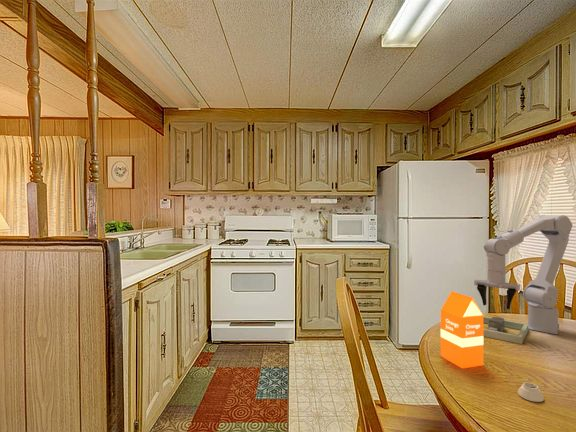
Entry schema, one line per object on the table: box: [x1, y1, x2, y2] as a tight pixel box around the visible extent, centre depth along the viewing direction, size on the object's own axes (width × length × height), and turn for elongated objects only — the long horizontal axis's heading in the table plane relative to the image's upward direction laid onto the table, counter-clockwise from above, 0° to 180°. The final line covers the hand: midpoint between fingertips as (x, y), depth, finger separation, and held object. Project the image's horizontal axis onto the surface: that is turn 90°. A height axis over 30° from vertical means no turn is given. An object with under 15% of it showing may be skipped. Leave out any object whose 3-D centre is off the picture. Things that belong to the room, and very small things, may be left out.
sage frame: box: [483, 315, 529, 345], centre depth 126 cm, size 18×18×2 cm
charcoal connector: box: [487, 316, 505, 333], centre depth 125 cm, size 4×13×4 cm, turn 139°
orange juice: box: [440, 291, 485, 369], centre depth 101 cm, size 8×9×20 cm
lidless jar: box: [517, 381, 545, 403], centre depth 80 cm, size 5×3×5 cm
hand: (496, 306), depth 126 cm, fingers open, 7 cm apart
